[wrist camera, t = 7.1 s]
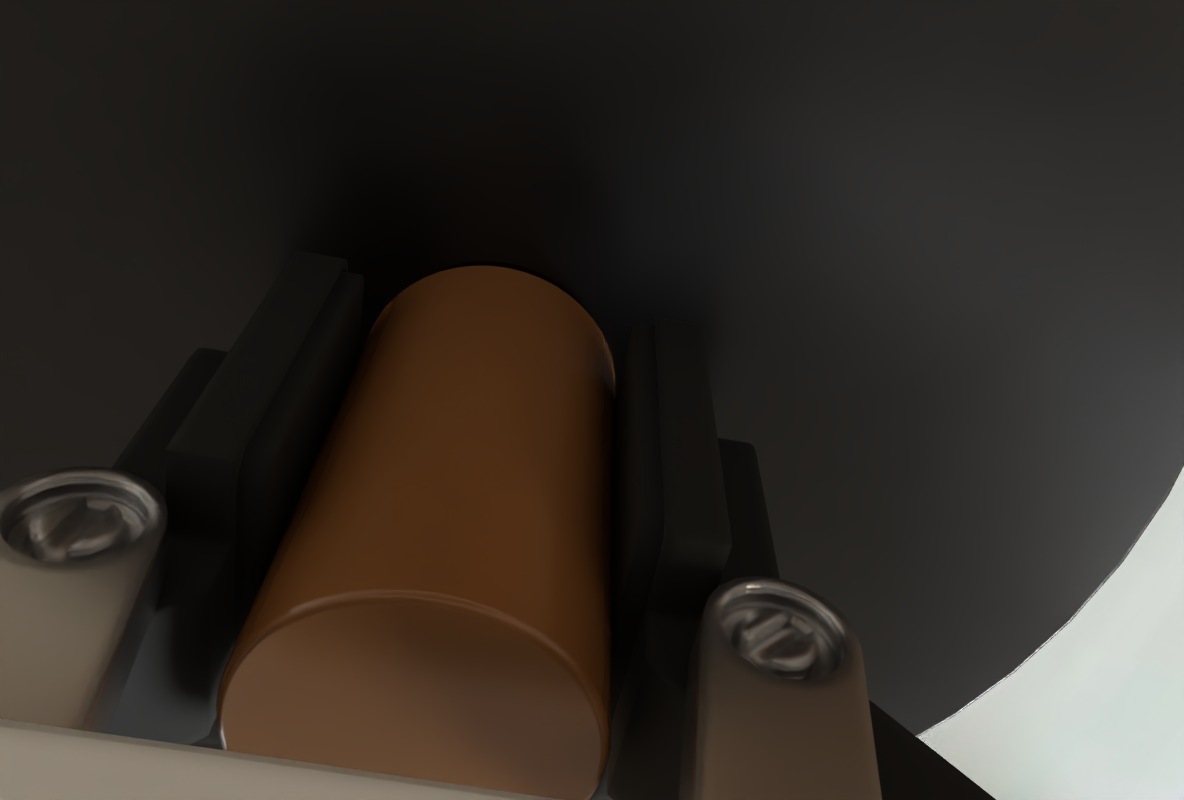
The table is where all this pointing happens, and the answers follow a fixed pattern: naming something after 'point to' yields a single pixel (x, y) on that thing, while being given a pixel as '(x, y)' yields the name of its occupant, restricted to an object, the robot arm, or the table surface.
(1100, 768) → the table surface
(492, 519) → the lid
